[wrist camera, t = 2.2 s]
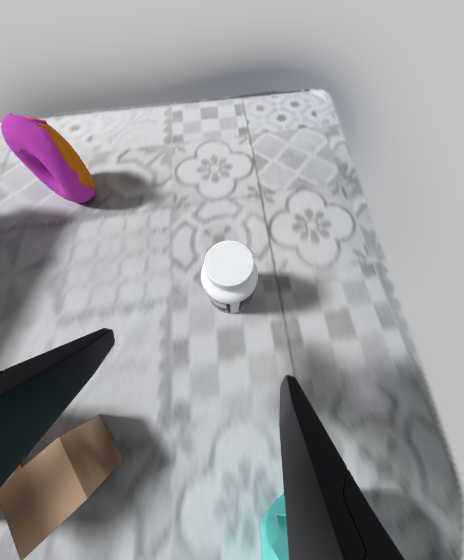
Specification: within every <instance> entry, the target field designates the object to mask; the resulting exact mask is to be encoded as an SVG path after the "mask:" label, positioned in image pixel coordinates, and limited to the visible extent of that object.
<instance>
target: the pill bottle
mask: <svg viewBox="0 0 464 560" xmlns="http://www.w3.org/2000/svg"><path fill="white" fill-rule="evenodd" d="M201 281H202V285H203V287H204V290H205V291H206V293H207V295H208V297H209V298H210V300H211V302H212V304H213V305H214V306H215V307H216V308H217V309H218V310H220V311H222V312H225V313H236V312H239V311H241V310H243V309H244V308H245V307H246V306H247V305H248V304H249V302H250V300H251V298H252V295H253V293H254V290H255V288H256V285H257V281H258V271H257V267H256V265H255V263H254V259H253V256H252V253H251V252H250V250H249V249H248V248H247V247H246V246H245V245H243V244H241V243H239V242H236V241H223V242H219V243H217V244H215V245H214V246H213V247H211V248H210V250H209V251H208V252H207V254H206V256H205V260H204V265H203V268H202V271H201Z"/></svg>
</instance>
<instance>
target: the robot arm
mask: <svg viewBox="0 0 464 560" xmlns="http://www.w3.org/2000/svg"><path fill="white" fill-rule="evenodd" d="M114 343H115V339H114V334H113V331H112V330H111V329H107V328H103V329H100V330H98V331H96V332H93V333H91V334H88V335H86V336H84V337H81V338H79V339H76V340H74V341H72V342H69V343H67V344H64V345H62V346H60V347H57V348H55V349H53V350H50V351H48V352H45V353H43V354H41V355H38V356H36V357H33V358H31V359H29V360H26V361H24V362H21V363H19V364H17V365H14V366H12V367H9V368H7V369H5V370H2V371H0V487H2V485H3V484H4V483H5V482H6V481H7V479H8V478H9V477H10V476H11V475H12V473H13V472H14V471H15V470H16V468H17V467H18V466H19V465H20V464H21V462H22V461H23V460H24V459H25V457H26V456H27V455H28V454H29V453H30V451H31V450H32V449H33V448H34V446H35V445H36V444H37V443H38V442H39V440H40V439H41V438H42V437H43V436H44V434H45V433H46V432H47V431H48V429H49V428H50V427H51V426H52V425H53V423H54V422H55V421H56V420H57V418H58V417H59V416H60V415H61V414H62V412H63V411H64V410H65V409H66V407H67V406H68V405H69V404H70V403H71V401H72V400H73V399H74V398H75V397H76V395H77V394H78V393H79V392H80V390H81V389H82V388H83V387H84V386H85V384H86V383H87V382H88V381H89V379H90V378H91V377H92V376H93V374H94V373H95V372H96V370H97V369H98V368H99V366H100V365H101V363H102V362H103V360H104V359H105V357H106V356H107V354H108V353H109V351H110V350H111V348H112V347H113V345H114ZM279 426H280V442H281V455H282V469H283V483H284V496H285V510H286V524H287V538H288V551H289V560H405V559H404V558H403V556H402V555H401V553H400V552H399V550H398V549H397V547H396V546H395V544H394V543H393V541H392V540H391V538H390V537H389V535H388V534H387V532H386V530H385V529H384V527H383V526H382V524H381V523H380V521H379V520H378V518H377V516H376V515H375V513H374V512H373V510H372V509H371V507H370V505H369V504H368V502H367V500H366V499H365V497H364V495H363V494H362V492H361V490H360V489H359V487H358V485H357V484H356V482H355V480H354V479H353V477H352V475H351V473H350V472H349V470H347V467H346V465H345V463H344V461H343V460H342V458H341V456H340V454H339V453H338V451H337V449H336V447H335V446H334V444H333V442H332V440H331V439H330V437H329V435H328V433H327V432H326V430H325V428H324V427H323V425H322V423H321V421H320V420H319V418H318V416H317V414H316V413H315V411H314V409H313V407H312V406H311V404H310V402H309V400H308V399H307V397H306V395H305V394H304V392H303V390H302V388H301V387H300V385H299V383H298V381H297V380H296V378H295V377H294V376H290V375H286V376H285V378H284V380H283V382H282V384H281V388H280V421H279Z"/></svg>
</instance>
